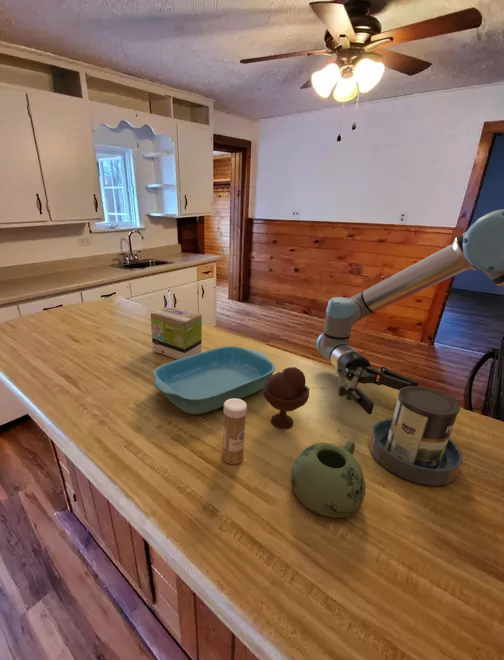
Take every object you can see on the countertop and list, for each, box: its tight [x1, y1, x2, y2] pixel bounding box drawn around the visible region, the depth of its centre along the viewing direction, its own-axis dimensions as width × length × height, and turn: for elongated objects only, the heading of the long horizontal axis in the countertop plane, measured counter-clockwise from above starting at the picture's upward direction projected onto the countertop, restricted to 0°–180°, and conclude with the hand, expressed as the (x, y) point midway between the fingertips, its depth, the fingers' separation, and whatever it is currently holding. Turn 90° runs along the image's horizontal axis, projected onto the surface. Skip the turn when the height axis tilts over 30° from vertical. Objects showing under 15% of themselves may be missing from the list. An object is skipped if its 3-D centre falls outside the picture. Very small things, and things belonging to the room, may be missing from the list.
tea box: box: [150, 306, 203, 360], centre depth 116 cm, size 15×10×15 cm, turn 55°
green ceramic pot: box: [291, 439, 366, 519], centre depth 62 cm, size 16×13×9 cm
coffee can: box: [385, 386, 461, 469], centre depth 69 cm, size 10×10×14 cm
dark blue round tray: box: [368, 418, 464, 486], centre depth 71 cm, size 16×16×4 cm
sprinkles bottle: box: [221, 398, 248, 465], centre depth 69 cm, size 5×5×14 cm
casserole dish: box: [152, 345, 276, 416], centre depth 95 cm, size 37×22×7 cm, turn 127°
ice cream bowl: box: [261, 366, 310, 430], centre depth 80 cm, size 11×11×15 cm
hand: (400, 407), depth 74 cm, fingers open, 13 cm apart
